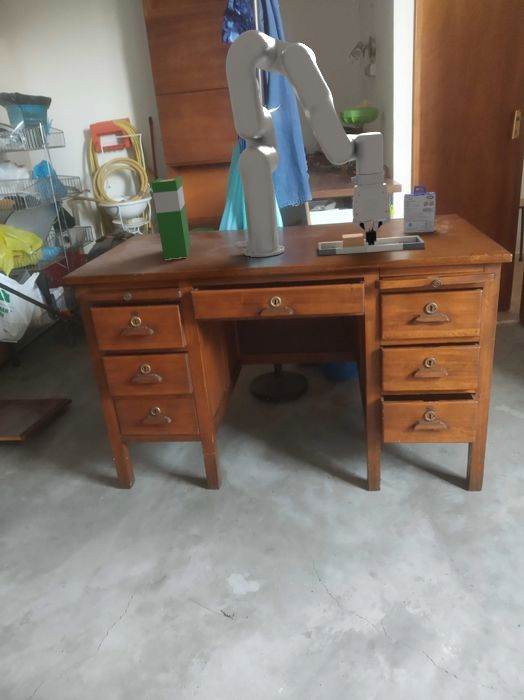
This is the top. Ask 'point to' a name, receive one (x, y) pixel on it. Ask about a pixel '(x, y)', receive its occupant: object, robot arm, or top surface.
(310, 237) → the top surface
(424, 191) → the ink cartridge box
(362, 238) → the terracotta block
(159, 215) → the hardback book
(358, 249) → the track
